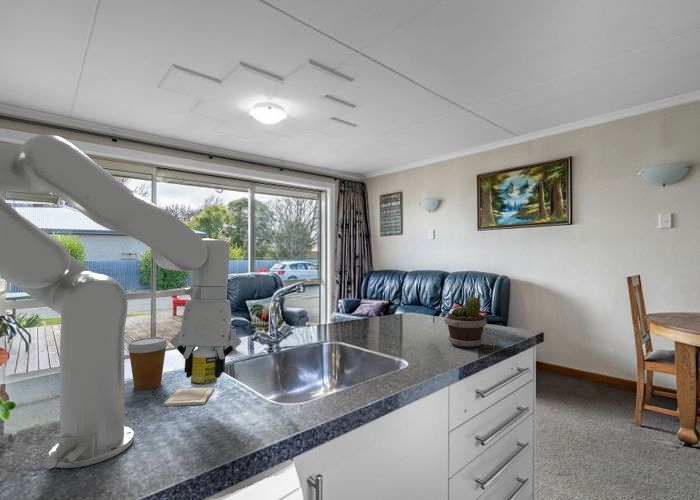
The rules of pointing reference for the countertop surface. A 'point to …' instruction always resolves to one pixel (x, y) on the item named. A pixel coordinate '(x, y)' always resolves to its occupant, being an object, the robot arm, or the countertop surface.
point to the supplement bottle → (204, 367)
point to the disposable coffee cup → (147, 361)
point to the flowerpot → (466, 324)
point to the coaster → (189, 396)
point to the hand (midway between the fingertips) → (204, 375)
